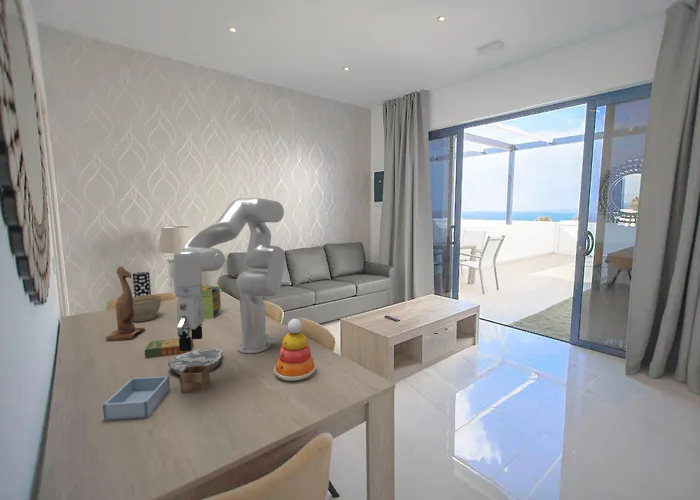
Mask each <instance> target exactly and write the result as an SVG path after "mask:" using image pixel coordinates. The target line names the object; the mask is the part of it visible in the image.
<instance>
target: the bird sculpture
mask: <svg viewBox="0 0 700 500" xmlns="http://www.w3.org/2000/svg"><path fill="white" fill-rule="evenodd" d="M116 274H117V276H118V278H119V282H120V284H121V288H122V292H123V293H122V294H121V295H120V296H119V297H118V298H117V300H116V303H115V316H116V324H117V325H116V326H117V330H115V331H113V332H111V333H109V334H108V335H106V337H105V339H106V341H112V342H114V341H118V342H119V341H121V342H122V341H133V339H134V337H135V334H137V333H138V332H146V328H145V327H136V326H135V322H134V320H133V319H134V318H133V317H134V306H133V297H134V296H133V293H132V289H131V287H130V285H129V283H128V281H127V279H126V278H129V279H131V278H132V274H131V272H130V271H128V270H126V268H125V267H123V265H120V266H119V267H117V269H116Z"/></svg>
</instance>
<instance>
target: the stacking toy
mask: <svg viewBox="0 0 700 500" xmlns="http://www.w3.org/2000/svg"><path fill="white" fill-rule="evenodd" d="M287 331H288V333H287V334H286V335H285V336H284V337H283V339H282V342H281V347H280V350H279V352H278V359H277V360H276V364H275V366H274V368H273V372H274V374H275V376H277V378H279V379H280V380H281V379H282V380H283V381H290V382H291V381H293V382H294V381H300V380H304V379H307V378H309V377H311V376H312V375H313V374H314V373H315V371H316V369H317V365H316V363H315V362H314V359H313V356H312V352H311V351H312V350H311V348H310V345H308V343H309V342H308V339H307V337H306V336H305V334H304V333H302V332H301V331H302V322H301V321H300V320H299V319H297V318H292V319H290V320H289V322H288V324H287Z"/></svg>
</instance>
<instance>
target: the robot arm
mask: <svg viewBox="0 0 700 500" xmlns="http://www.w3.org/2000/svg"><path fill="white" fill-rule="evenodd" d="M284 215H285V209H284V207H283V205H282V204H281V202H279V201H276V200H271V199H267V198H261V197H242V198H241V197H240V198H236V199H233V201H231V203H230V204H229V205H228V206H227V208H226V210H225V211H224V212H223V213H222V214H221V216H220V217H219V218H218V219H217V221H216V222H215V223H213V224H211V225H209V226H207V227H205V228H203V229H202V230H200V231H199V232H198V233H195V234H194V235H193V236H192V237H191V238H189V240H188V242H187V243H186V244H184V247H183V248H182V249H181V250H177V251H175V252H174V253H173V274H174V289H175V290H174V293H175V294H174V295H175V298H177V301H176V302H177V303H176V306H177V307H176V318H177V319H176V322H177V326H176V330H177V335H178V336H177V337H178V338H179V348H180V351H190V350H191V337H192V339H193V340H202V339H203V326H202V325H203V323H204V321H205V319H204V309H203V300H202V286H203V279H202V278H203V277H202V276H203V275H202V273H203V272H214V271H218V270H219V269H221V268H222V267H223V266H224V264H225V260H226V256H225V254H224V253H223V252H222V251H221V250H220V249H218V248H215V247H214V246H218V245H220V244H224V243H227V242H230V241H233V240H234V239H235V240H236V238H237V237H238V236H239V235H240V233H241V232H242V230H243V228H245V226H246V224H247V225H248V229H249V232H250V233H249V241H248V244H247V249H246V250H247V251H246V256H245V264H246V265H247V267H249V268H252V269H259V271H255V270H247V271H243V272H241V273H240V274H239V275H237V278H236V282H235V284H236V289H237V293H238V298H239V307H240V326H241V327H240V329H241V343H239V344H238V347H237V348H238V351H239V352H241V353H244V354H257V353H261V352H264V351H265V352H266V350H268V349H270V348H271V344H277V343H278V338H277V337H275V336H271V337H270V336H268V333H267V330H266V327H267V326H266V324H267V323H266V306H265V302H264V298H263V297H275V296H277V295H278V293H279V292H280V289H281V286H282V281H283V275H284V269H285V264H286V256H285V252H284V249H283V248H282V247H280V246H278V245H271V241H272V233H271V231H270V228H269V227H268V226H267V224H266V223H274V224H275V223H279V222H281V221H282V220H283V217H284ZM260 269H261V270H266V271H260ZM191 351H192V350H191Z"/></svg>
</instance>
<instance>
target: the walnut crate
mask: <svg viewBox="0 0 700 500" xmlns="http://www.w3.org/2000/svg"><path fill="white" fill-rule="evenodd" d="M210 378H211V377H210V371H209V365H203V366H186V367H185V369H184V370H183V371H182V372H181V373H180V375H179V385H180V393H198V392H205V391H206V389H207V388H208V386H209V385H210V382H211V379H210Z"/></svg>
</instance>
